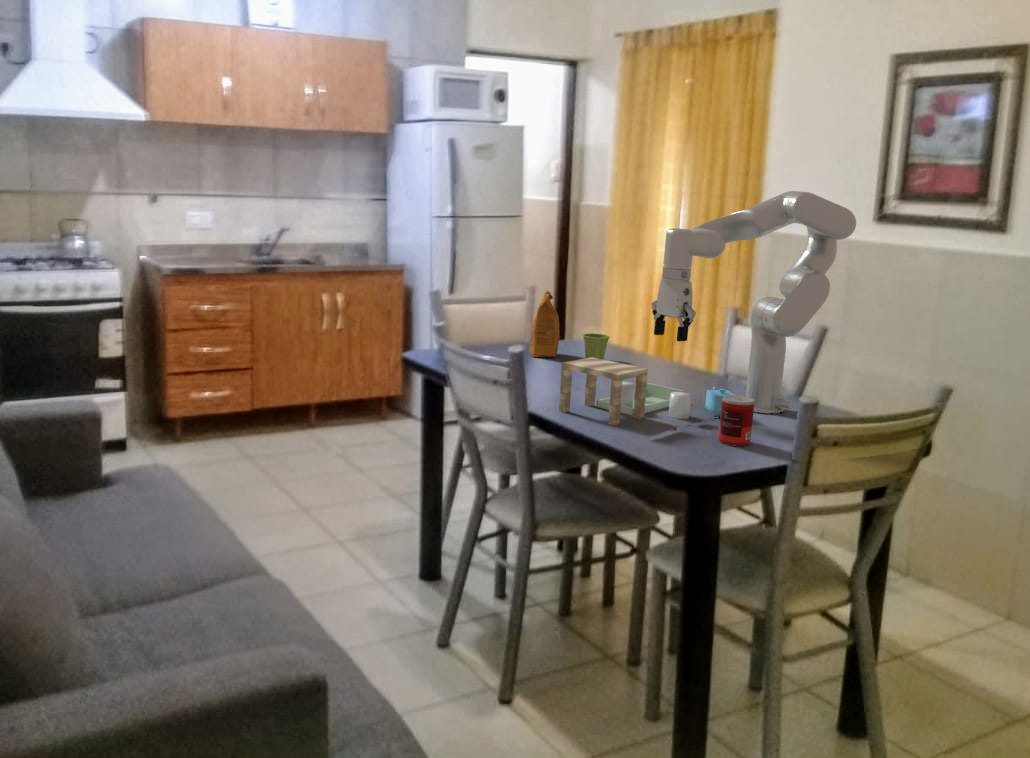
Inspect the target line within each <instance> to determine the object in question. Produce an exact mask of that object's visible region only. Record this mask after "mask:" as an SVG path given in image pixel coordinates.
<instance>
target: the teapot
mask: <svg viewBox="0 0 1030 758" xmlns="http://www.w3.org/2000/svg"><path fill="white" fill-rule="evenodd" d="M711 387H712V389H706V394H705V395H706V396H705V405H704V406H705V407H704V410H705V411H706V412H708V413H710V414H711V415H713V417H719V418H720V417H721V407H722V399H723V397H724V396H727V395H736V394H735V393H733V392H731V391H730V390H728V389H724V388H719V389H717V388H716V387H715V386H711Z"/></svg>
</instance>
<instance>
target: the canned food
mask: <svg viewBox="0 0 1030 758" xmlns="http://www.w3.org/2000/svg"><path fill="white" fill-rule="evenodd" d="M754 413H755V412H754V400H753V399H752V398H749V397H746V395H745V396H744V395H737V394H735V395H727V396H724V397H723V399H722V407H721V416H720V417H719V418H720V419H719V429H718V440H719V442H720V443H721V442H722V443H721V444H723V443H725V444H729V445H728V446H730V445H736V446H735V447H746V446H745V445H747V446H749V444H750V442H751V437H752V429H753V427H752V426H753V419H754ZM725 444H724V445H725Z"/></svg>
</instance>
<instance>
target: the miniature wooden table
mask: <svg viewBox="0 0 1030 758" xmlns="http://www.w3.org/2000/svg"><path fill="white" fill-rule="evenodd" d="M648 371H649V370H648V368H645V367H640V366H637V365H631V364H628V363H627V364H626V363H622V362H617V361H612V360H607V359H604V360H603V359H598V358H593V357H591V358H586V357H585V358H580V359H576V360H570V361H569V360H568V361H563V362H562V363H561V372H560V390H559V403H558V404H559V405H558V412H559V413H563V414H567V413H570V411H571V399H572V398H571V395H572V383H573V382H572V380H573V372H577V373H581V374H586V378H585V379H586V380H585V389H584V390H585V393H584V394H585V395H584V406H586V407H588V408H589V407H590V408H591V407H595V406H596V395H597V390H596V389H597V379H598V378H597V377H600V378H604V379H610V395H609V397H610V405H609V410H608V422H607V425H611V426H614V427H615V426H618V425H620V417H621V413H620V407H621V394H622V382H624V381H623V380H628V379H632V378H636V379H635V400H634V412H633V416H632V418H634V419H638V420H640V419H644V418H645V413H644V409H645V397H646V385H647V383H648V382H647V381H648Z"/></svg>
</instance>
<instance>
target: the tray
mask: <svg viewBox="0 0 1030 758" xmlns="http://www.w3.org/2000/svg"><path fill="white" fill-rule="evenodd" d="M671 392H684V389H679V388H674V387H670V386H669V387H668V386H667V385H666V386H665V385H661V384H655V383H651V382H647V385H646V397H645V409H644V414H646V413H650V412H653V411H658V410H661V409H665V408H669V404H670V393H671ZM684 393H685V392H684ZM634 400H635V391H634ZM609 405H610V396H609V397H605V398H601V399H597V400H596V404H595V406H596V408H600V409H603V410H604V409H605V410H608V411H609ZM633 412H634V404H633V408H630V407H626V406H621V407H620V414H624V415H629V416H632V417H633Z"/></svg>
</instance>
